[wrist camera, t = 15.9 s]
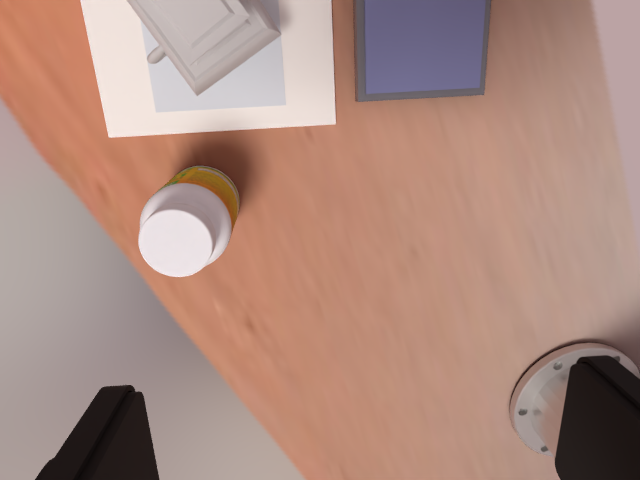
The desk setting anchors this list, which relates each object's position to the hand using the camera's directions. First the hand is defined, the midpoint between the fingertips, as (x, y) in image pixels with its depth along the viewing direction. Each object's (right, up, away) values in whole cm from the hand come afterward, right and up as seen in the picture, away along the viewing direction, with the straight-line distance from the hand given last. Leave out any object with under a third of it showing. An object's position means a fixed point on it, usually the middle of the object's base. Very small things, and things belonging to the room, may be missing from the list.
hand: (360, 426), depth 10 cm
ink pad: (+6, +20, +20) cm, 29 cm away
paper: (-8, +18, +19) cm, 28 cm away
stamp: (-8, +18, +19) cm, 28 cm away
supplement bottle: (-10, +7, +23) cm, 26 cm away
